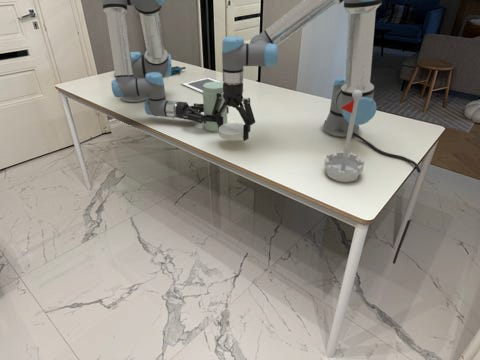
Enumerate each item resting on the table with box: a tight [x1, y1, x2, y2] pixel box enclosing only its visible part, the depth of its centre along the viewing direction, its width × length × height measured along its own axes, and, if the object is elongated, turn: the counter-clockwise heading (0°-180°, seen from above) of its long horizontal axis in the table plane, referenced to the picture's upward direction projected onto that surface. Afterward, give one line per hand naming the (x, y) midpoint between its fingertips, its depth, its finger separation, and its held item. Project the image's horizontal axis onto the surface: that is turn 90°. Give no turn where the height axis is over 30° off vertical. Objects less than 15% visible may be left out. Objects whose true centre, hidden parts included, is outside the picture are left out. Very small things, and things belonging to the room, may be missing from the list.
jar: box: [202, 81, 228, 133], centre depth 148 cm, size 10×10×19 cm
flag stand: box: [323, 90, 365, 183], centre depth 111 cm, size 13×13×30 cm
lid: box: [217, 122, 245, 141], centre depth 136 cm, size 12×12×2 cm
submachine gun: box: [171, 65, 187, 75], centre depth 224 cm, size 34×4×25 cm
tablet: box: [181, 77, 221, 94], centre depth 200 cm, size 32×20×1 cm, turn 41°
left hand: (224, 114), depth 149 cm, fingers closed on jar, 10 cm apart
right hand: (233, 135), depth 137 cm, fingers closed on lid, 11 cm apart
